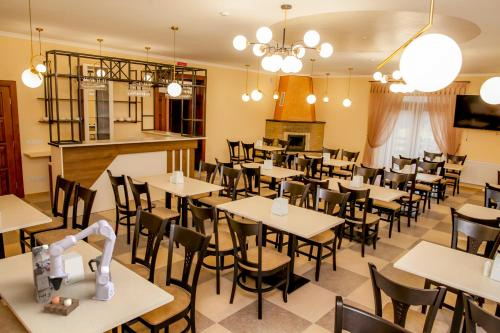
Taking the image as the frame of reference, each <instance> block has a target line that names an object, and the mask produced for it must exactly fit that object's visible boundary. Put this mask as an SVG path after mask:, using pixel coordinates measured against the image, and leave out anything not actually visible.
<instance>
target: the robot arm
mask: <svg viewBox="0 0 500 333" xmlns="http://www.w3.org/2000/svg"><path fill="white" fill-rule="evenodd" d="M90 235H96V236H99V235H100V236H102V237H104V238H105V242H104V245H103V250H102V253H101V255H102V257H101V262H100V265H99V266H98V269H97V268H96V269H95V270H96V271H95V272H94V276H95V278H96V280H95V282H94V285H95V288H94V289H95V294H94V296H93V297H92V298H91V299H92V300H98V301H103V302H104V301H105V302H107V301H110V299H111V298H113V296H114V295H115V284H114V282H112V281H109V270H110V268H109V264H110V265H111V262H110V260H111V256H113V251H114V248H115V243H116V239H117V235H116V234H115V231H114V228H113V227H112V225H111V224H110V223H109V222H108V221H107V220H105V219H100V220H98V221H96V222H94V223H92V224H91V225H90V226H89V227H86V228H85V229H83V230H81V231H80V232H78V233H76V234H74V235H71V234H70V235H66V236H65V238H63V239H61V240H57V241H56V242H53V243H51V244H49V245H50V246H49V248H48V249H49V253H50V271H45V272H44V273H43V276H49V277H50V279H49V281H50V282H51V283H52V285H53V287H54V288H53V289H54V291H56V292H57V291H59V290H60V288H61V285H62V282H63V280H64V279H66V280H69V279H71V274H70V273H66V272H65V271H63V256H62V254H63V252H64V251H67V250H68V249H70V248H71V247H74V246H76V245H77V242H78V241H80V240H83V239H84V238H86V237H89V236H90Z"/></svg>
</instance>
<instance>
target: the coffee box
mask: <svg viewBox="0 0 500 333" xmlns="http://www.w3.org/2000/svg"><path fill="white" fill-rule="evenodd" d="M45 271H48V269H47V268H46V267H42V268H38V269H35V270H33V269H32V275H33V274H34V282H33V287H34V288H33V289H34V297H35V299H36V301H37V303H39V304H40V303H43V302H47V301H50V300H52V297H51V294H52V293H51V289H50V281H49V279H50V277H49V276H43V273H44V272H45Z"/></svg>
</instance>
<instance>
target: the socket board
mask: <svg viewBox="0 0 500 333" xmlns="http://www.w3.org/2000/svg"><path fill="white" fill-rule="evenodd" d="M66 299H71V305H70V306H64V300H66ZM79 306H80V299H79V298H71V297H64V296H63V297H62V296H59V303H58V304H57V305H55V304H52V300H51V301H50V300H49V302H48V303H46V304H45V305H43V313H44V314H51V315H52V314H53V315H58V316H63V317H64V316H66V317H67V316H69V315H70V314H71V313H73V311H75V310H76V309H77V308H78V307H79Z"/></svg>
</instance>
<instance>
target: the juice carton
mask: <svg viewBox="0 0 500 333" xmlns="http://www.w3.org/2000/svg"><path fill="white" fill-rule="evenodd" d="M50 245H51V244H49V243H45V244H43V245H40V246H35V247H32V248H31V261H32V271H33V270H35V269H38V268H42V267H46V268H47V269H48V271H50V253H49V249H48V248H49V246H50ZM32 278H33V280H32V282H33V283H34V274H33V273H32ZM51 289H52V290H53V289H54V287H53V285H52V283H51V282H50V290H51Z"/></svg>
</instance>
